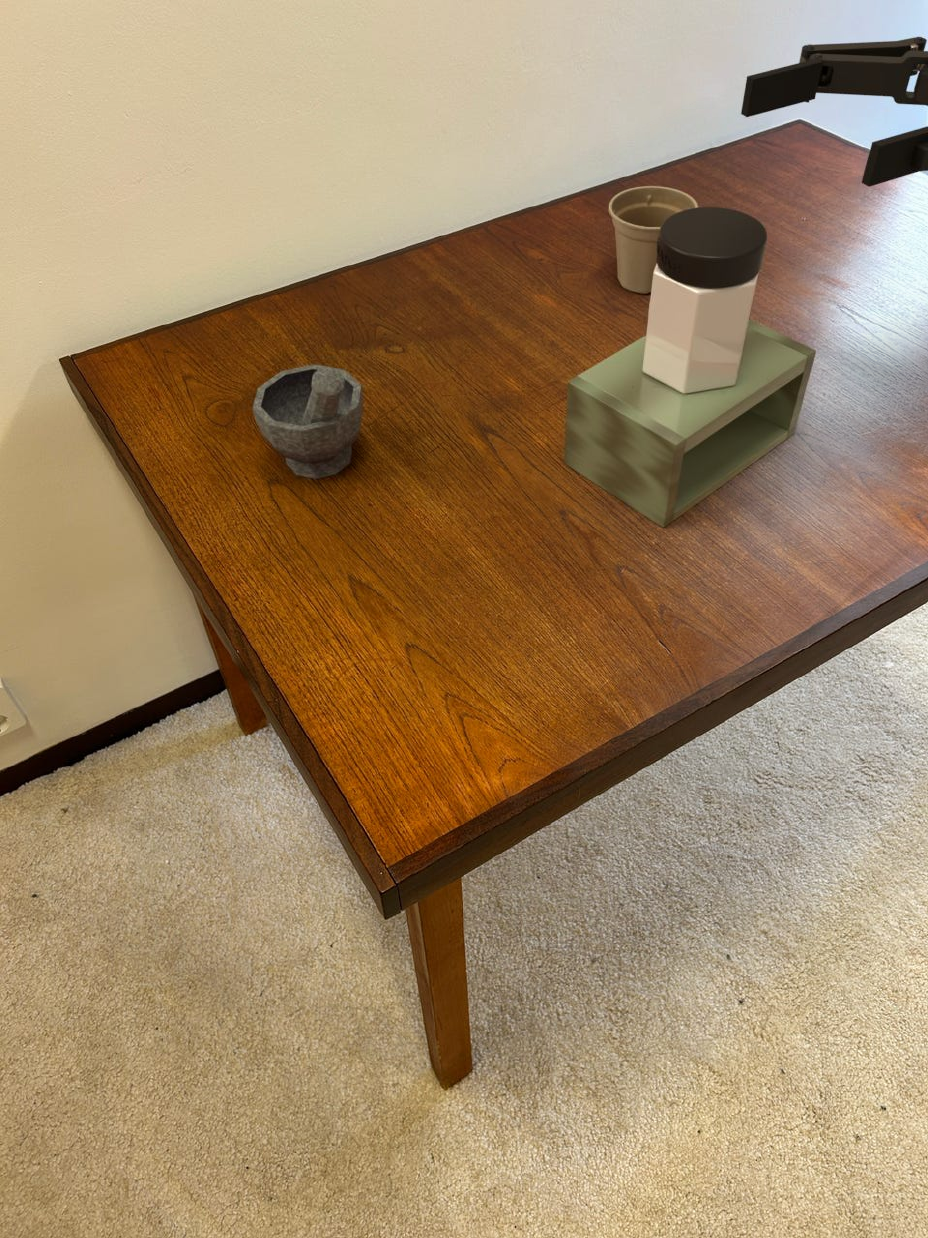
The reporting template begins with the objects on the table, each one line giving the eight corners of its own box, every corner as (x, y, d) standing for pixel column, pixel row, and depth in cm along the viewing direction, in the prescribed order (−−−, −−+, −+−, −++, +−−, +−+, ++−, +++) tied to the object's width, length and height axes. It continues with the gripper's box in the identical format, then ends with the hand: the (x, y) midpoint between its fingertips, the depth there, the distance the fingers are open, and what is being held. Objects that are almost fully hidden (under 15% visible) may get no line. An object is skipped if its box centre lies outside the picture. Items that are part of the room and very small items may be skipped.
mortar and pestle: (251, 450, 92) (222, 340, 83) (336, 412, 95) (317, 303, 86) (308, 513, 86) (283, 402, 77) (397, 471, 89) (383, 359, 80)
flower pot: (685, 306, 105) (696, 229, 99) (599, 299, 107) (604, 224, 100) (689, 262, 111) (700, 187, 105) (607, 257, 113) (613, 183, 106)
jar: (654, 330, 86) (669, 198, 77) (746, 342, 85) (774, 208, 75) (634, 387, 81) (648, 253, 72) (732, 402, 79) (760, 266, 70)
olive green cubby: (794, 433, 90) (816, 350, 83) (663, 528, 83) (676, 445, 76) (693, 380, 96) (707, 298, 90) (563, 463, 89) (567, 381, 82)
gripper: (1141, 178, 70) (913, 253, 65) (897, 68, 85) (696, 122, 80) (1195, 65, 64) (951, 137, 59) (924, -31, 79) (710, 19, 74)
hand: (804, 128), depth 69 cm, fingers open, 13 cm apart
